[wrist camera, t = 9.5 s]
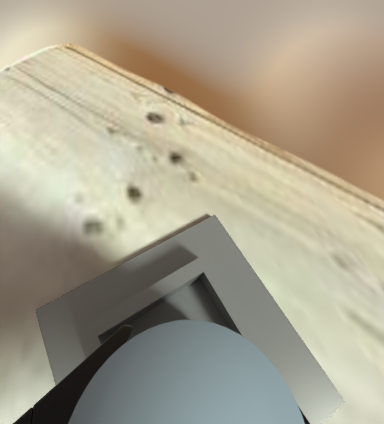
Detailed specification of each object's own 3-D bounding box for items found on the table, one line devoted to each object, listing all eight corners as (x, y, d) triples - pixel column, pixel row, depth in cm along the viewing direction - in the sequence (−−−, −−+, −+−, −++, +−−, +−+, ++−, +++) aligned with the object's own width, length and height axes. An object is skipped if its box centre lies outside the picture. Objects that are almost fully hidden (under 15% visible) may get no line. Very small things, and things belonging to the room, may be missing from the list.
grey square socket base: (124, 605, 11) (99, 732, 8) (41, 310, 17) (6, 308, 13) (337, 397, 15) (382, 420, 12) (213, 217, 21) (220, 198, 18)
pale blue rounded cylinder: (166, 425, 12) (114, 867, 2) (133, 345, 14) (20, 408, 4) (231, 374, 13) (376, 526, 4) (194, 306, 15) (222, 280, 5)
